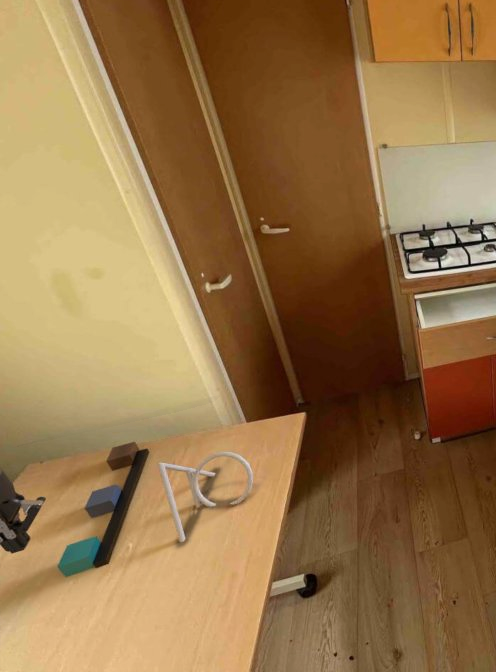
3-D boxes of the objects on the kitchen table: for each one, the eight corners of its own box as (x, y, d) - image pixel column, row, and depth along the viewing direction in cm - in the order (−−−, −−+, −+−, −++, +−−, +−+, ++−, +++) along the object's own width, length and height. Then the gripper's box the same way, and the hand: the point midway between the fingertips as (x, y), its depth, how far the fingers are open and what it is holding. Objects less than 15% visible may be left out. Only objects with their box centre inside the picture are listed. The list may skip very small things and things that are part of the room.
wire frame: (279, 492, 103) (245, 526, 87) (224, 510, 102) (180, 548, 86) (259, 422, 103) (221, 443, 88) (204, 439, 102) (156, 463, 86)
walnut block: (114, 474, 102) (106, 461, 100) (120, 460, 106) (112, 447, 103) (137, 467, 104) (129, 454, 102) (142, 454, 107) (135, 441, 105)
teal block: (68, 580, 81) (56, 567, 79) (77, 558, 84) (66, 545, 82) (98, 570, 82) (87, 556, 80) (106, 549, 86) (96, 535, 84)
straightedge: (98, 571, 82) (92, 564, 81) (141, 457, 106) (137, 450, 105) (111, 567, 83) (105, 559, 82) (151, 455, 107) (147, 448, 106)
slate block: (93, 521, 91) (84, 508, 89) (101, 504, 95) (92, 491, 93) (119, 513, 93) (110, 500, 91) (126, 496, 97) (117, 483, 94)
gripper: (32, 453, 74) (76, 516, 82) (-76, 479, 69) (-18, 543, 77) (9, 487, 68) (59, 551, 76) (-111, 518, 63) (-44, 584, 71)
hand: (20, 547), depth 77 cm, fingers closed
